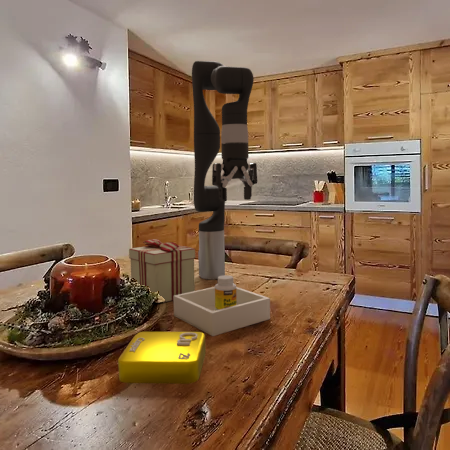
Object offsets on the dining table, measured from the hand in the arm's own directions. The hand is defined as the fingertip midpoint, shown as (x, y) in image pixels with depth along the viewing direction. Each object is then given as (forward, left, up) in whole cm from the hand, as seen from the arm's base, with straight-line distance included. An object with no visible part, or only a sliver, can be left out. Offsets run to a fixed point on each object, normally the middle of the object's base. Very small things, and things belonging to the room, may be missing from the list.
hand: (235, 200), depth 115 cm
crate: (+7, -11, -30) cm, 32 cm away
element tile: (+22, -35, -30) cm, 51 cm away
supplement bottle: (+9, -11, -29) cm, 32 cm away
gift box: (-22, -12, -30) cm, 39 cm away
